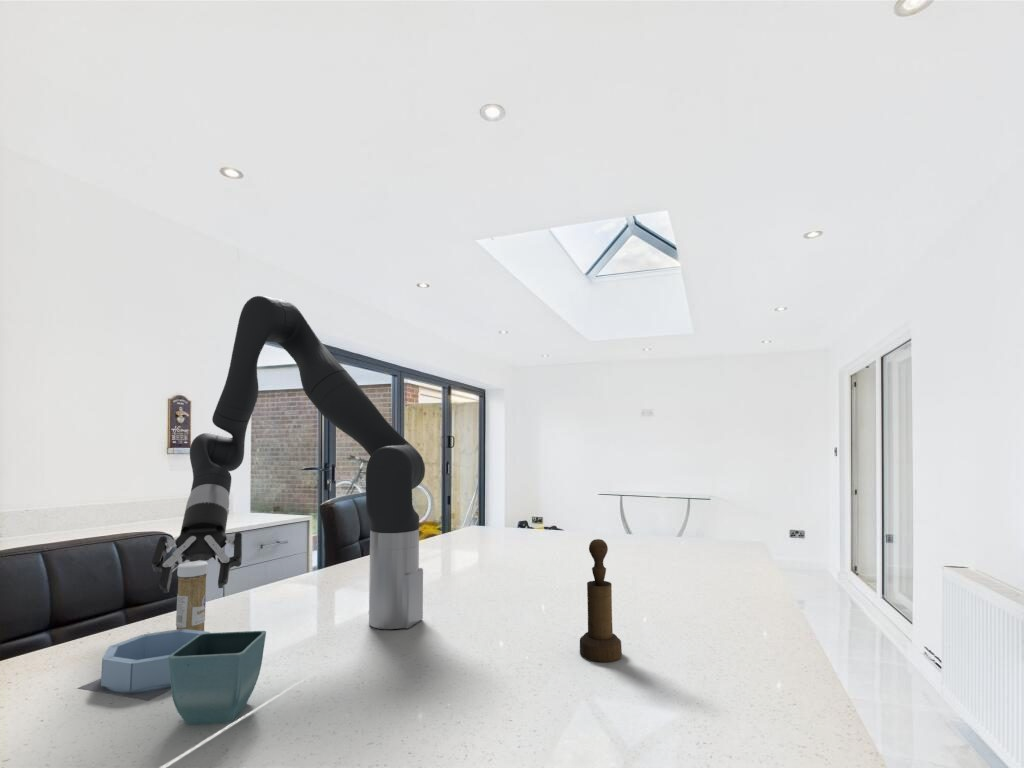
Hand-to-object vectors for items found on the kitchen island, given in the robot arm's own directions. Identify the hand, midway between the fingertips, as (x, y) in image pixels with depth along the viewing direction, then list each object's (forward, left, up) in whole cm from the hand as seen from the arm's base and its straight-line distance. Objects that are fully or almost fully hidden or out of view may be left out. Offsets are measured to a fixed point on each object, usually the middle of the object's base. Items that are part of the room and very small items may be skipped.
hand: (193, 587), depth 100 cm
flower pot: (-26, +20, -9) cm, 34 cm away
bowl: (-8, +13, -8) cm, 18 cm away
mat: (-8, +13, -9) cm, 18 cm away
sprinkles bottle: (-1, +1, -9) cm, 9 cm away
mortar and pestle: (-69, -14, -9) cm, 71 cm away
